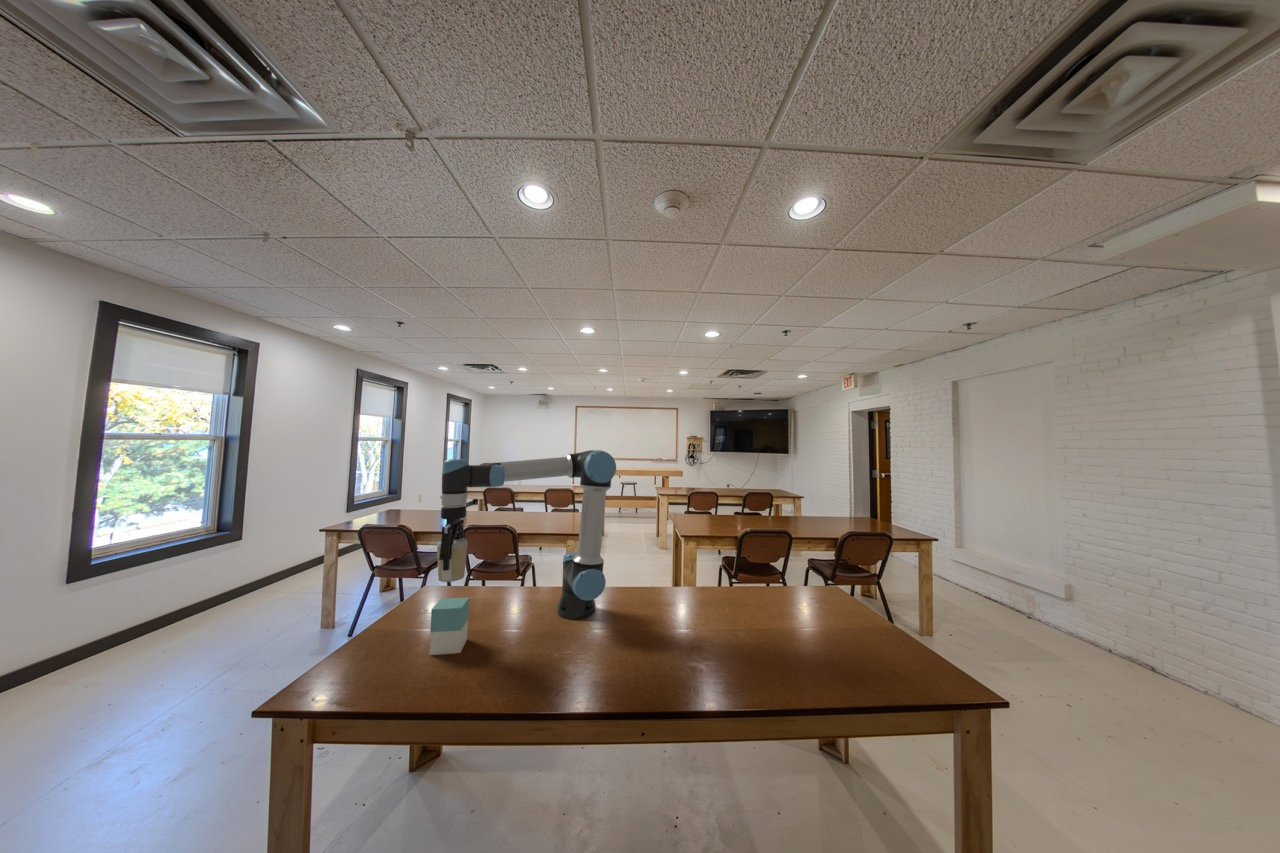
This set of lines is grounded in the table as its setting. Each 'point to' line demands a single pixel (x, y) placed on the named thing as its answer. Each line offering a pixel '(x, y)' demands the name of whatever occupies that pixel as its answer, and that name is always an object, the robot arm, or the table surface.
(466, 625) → the cream block
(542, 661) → the table surface
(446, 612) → the teal block
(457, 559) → the coffee cup
